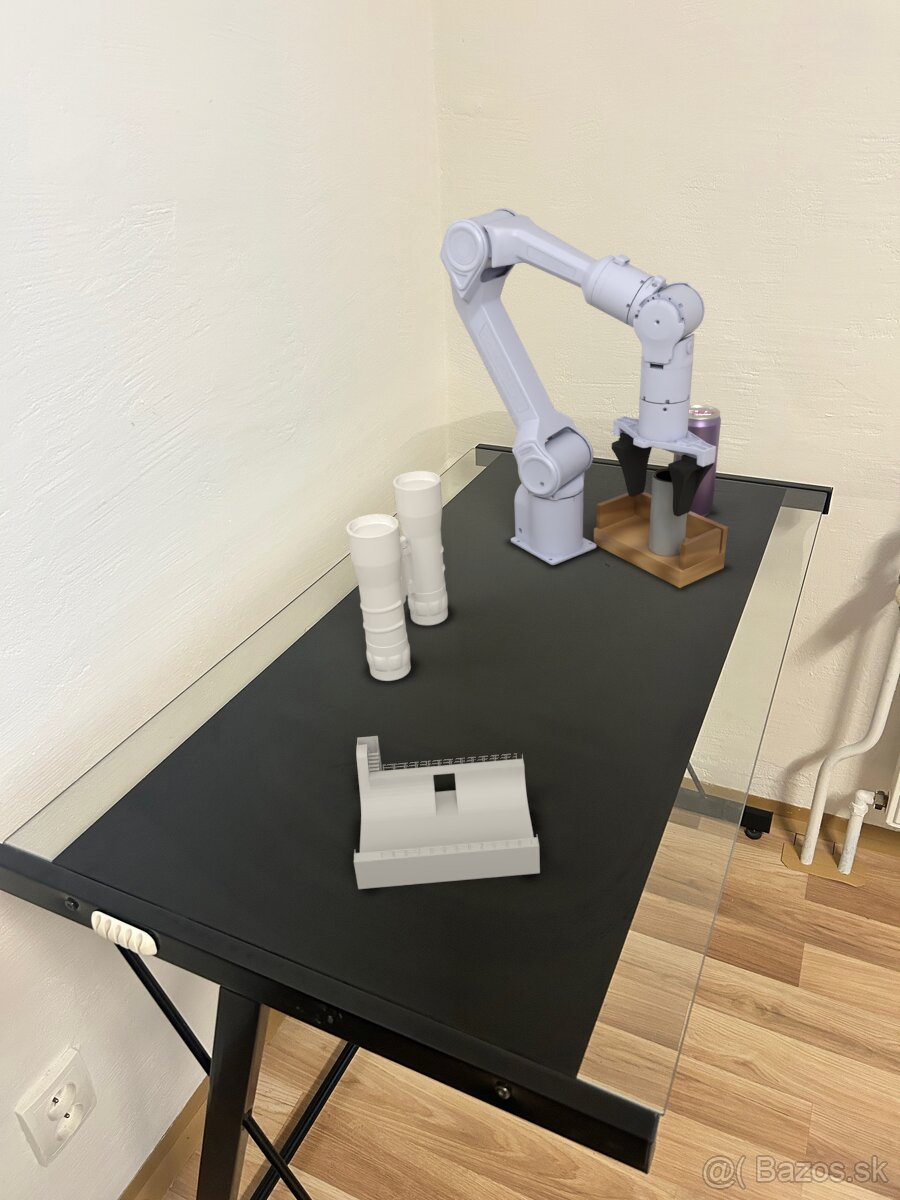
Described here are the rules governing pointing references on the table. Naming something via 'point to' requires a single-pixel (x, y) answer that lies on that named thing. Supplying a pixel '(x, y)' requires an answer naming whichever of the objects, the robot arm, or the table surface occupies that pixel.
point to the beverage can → (707, 428)
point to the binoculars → (400, 571)
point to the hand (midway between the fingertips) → (658, 503)
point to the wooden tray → (628, 538)
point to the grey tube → (665, 517)
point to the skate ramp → (442, 822)
